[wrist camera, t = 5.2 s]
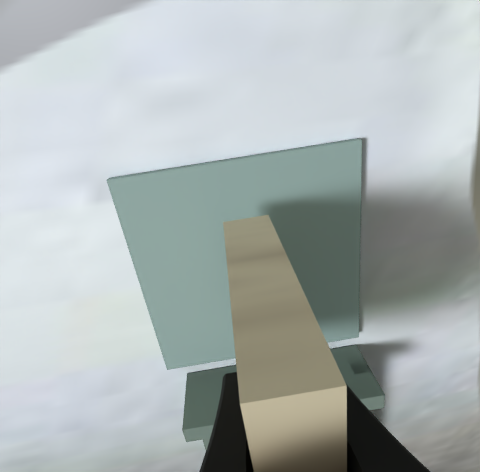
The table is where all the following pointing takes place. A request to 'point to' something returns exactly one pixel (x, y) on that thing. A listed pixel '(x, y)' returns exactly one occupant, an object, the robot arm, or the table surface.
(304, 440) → the plywood sheet
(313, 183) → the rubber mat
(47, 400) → the table surface
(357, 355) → the rack
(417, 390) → the table surface
